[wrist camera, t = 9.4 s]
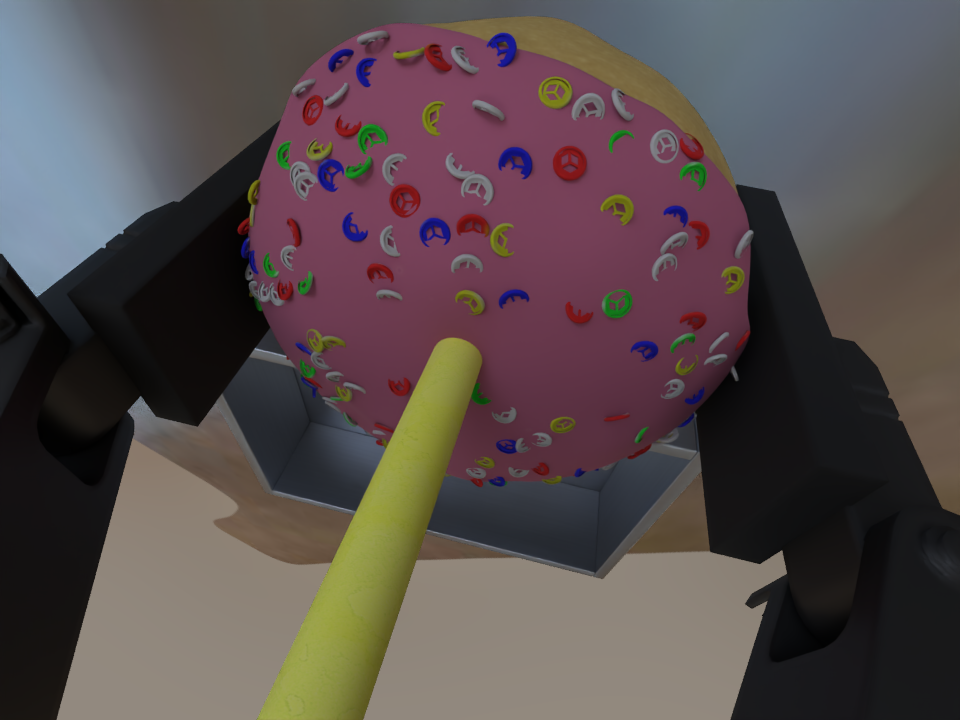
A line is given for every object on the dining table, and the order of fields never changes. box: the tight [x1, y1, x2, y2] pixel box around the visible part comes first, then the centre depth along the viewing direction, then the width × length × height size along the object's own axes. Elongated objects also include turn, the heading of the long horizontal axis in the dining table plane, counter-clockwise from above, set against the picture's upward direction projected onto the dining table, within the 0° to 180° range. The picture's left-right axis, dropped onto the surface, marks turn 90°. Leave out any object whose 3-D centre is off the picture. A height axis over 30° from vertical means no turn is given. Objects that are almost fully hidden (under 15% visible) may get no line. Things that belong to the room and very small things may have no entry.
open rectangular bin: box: [216, 328, 702, 579], centre depth 24 cm, size 20×14×5 cm
